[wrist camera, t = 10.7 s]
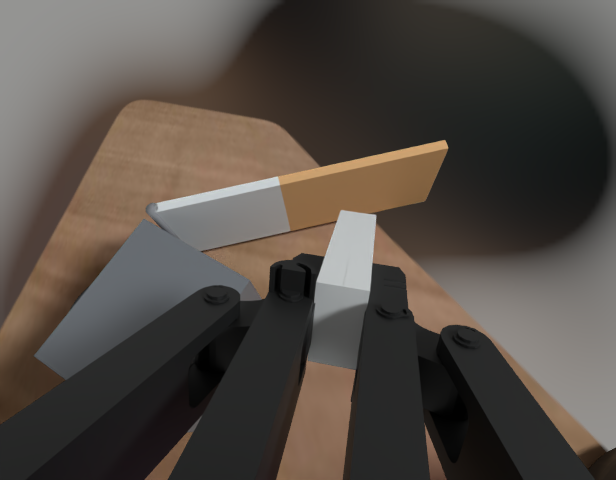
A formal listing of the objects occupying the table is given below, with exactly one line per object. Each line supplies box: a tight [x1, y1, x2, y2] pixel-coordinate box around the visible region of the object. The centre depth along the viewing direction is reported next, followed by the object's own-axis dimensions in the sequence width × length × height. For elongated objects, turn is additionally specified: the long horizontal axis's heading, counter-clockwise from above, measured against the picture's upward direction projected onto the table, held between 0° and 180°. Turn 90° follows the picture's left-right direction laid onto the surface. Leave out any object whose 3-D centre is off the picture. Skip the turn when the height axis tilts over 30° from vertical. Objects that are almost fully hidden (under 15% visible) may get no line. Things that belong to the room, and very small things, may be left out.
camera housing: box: [34, 219, 262, 432], centre depth 33 cm, size 11×12×11 cm
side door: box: [146, 140, 448, 251], centre depth 37 cm, size 24×1×9 cm, turn 102°
